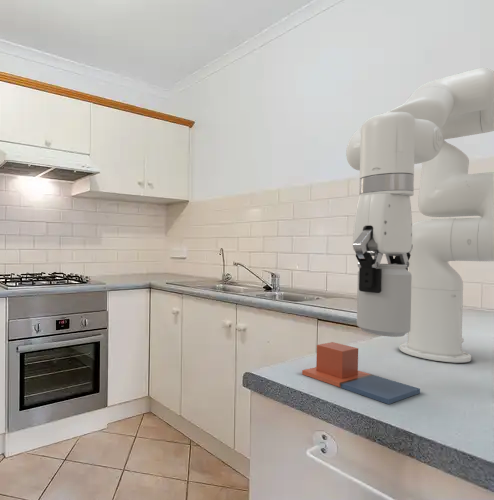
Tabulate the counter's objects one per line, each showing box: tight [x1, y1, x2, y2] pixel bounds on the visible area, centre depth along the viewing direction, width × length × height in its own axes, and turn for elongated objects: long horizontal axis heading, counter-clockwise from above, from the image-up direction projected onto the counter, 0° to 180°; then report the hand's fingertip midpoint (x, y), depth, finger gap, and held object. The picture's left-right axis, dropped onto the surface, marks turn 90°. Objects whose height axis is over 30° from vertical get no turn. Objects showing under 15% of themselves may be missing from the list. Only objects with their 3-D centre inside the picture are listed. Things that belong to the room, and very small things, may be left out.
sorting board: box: [301, 366, 421, 405], centre depth 66 cm, size 10×15×1 cm, turn 28°
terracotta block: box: [315, 341, 359, 379], centre depth 69 cm, size 5×5×5 cm
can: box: [356, 263, 412, 338], centre depth 63 cm, size 8×8×12 cm
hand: (383, 290), depth 63 cm, fingers closed on can, 7 cm apart
